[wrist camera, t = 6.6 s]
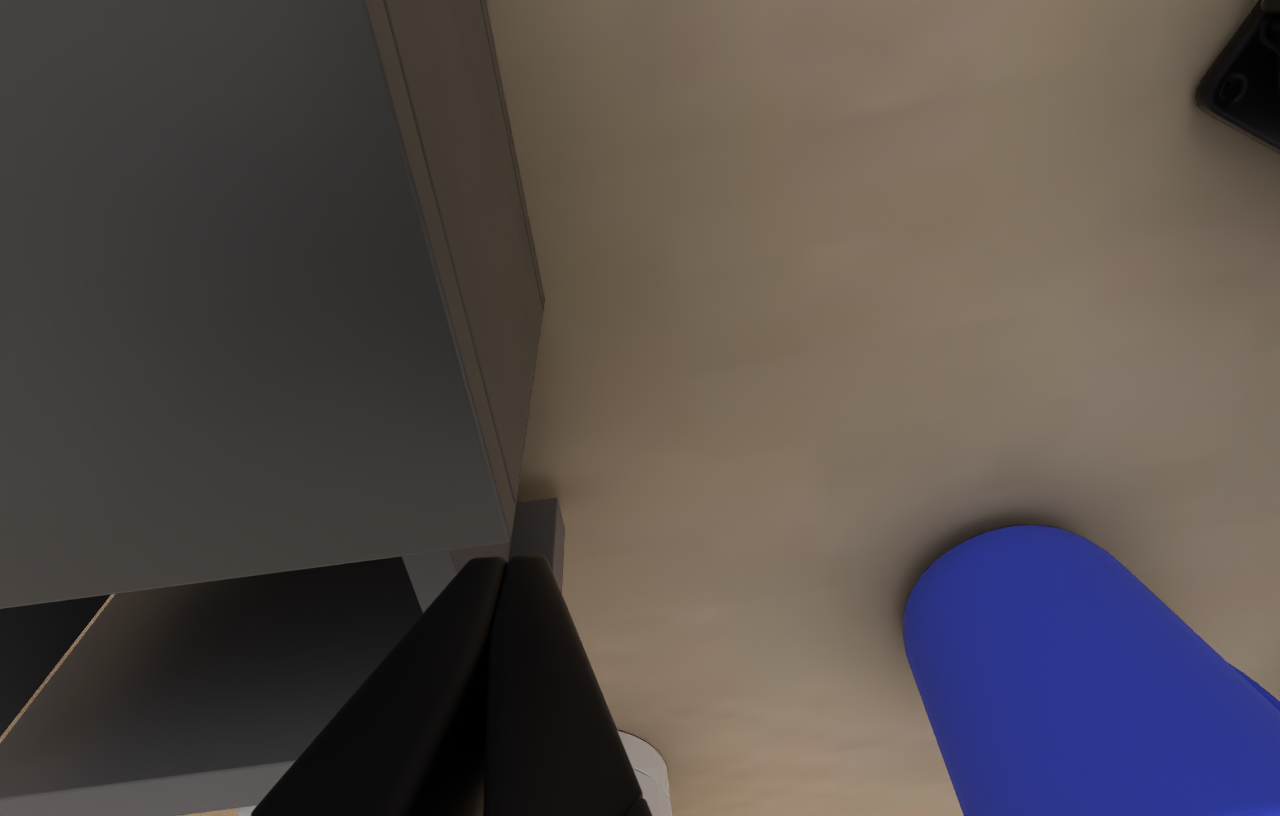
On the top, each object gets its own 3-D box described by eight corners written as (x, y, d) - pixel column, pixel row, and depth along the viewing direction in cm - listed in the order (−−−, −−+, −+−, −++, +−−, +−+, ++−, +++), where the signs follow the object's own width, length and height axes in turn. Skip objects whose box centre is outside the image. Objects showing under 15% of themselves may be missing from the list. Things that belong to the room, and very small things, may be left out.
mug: (1131, 701, 28) (1376, 1030, 19) (833, 661, 26) (956, 1009, 17) (1275, 533, 24) (1664, 850, 15) (936, 469, 22) (1166, 794, 13)
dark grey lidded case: (545, 301, 18) (511, 543, 11) (46, 368, 19) (-354, 656, 11) (365, -610, 11) (-198, -2066, 3) (-461, -487, 11) (-2956, -1584, 3)
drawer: (590, 645, 23) (590, 894, 17) (233, 691, 23) (101, 954, 17) (444, -19, 14) (324, -13, 8) (-144, 64, 14) (-728, 134, 8)
